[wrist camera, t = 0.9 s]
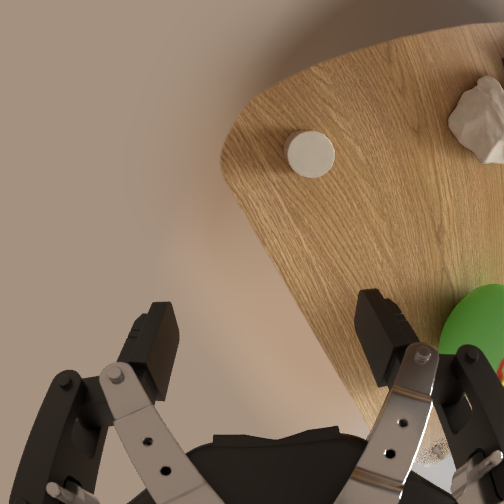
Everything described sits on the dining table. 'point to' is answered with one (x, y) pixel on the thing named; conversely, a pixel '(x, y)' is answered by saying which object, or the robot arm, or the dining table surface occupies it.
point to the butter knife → (438, 452)
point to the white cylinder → (309, 153)
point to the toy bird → (478, 326)
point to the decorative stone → (481, 121)
